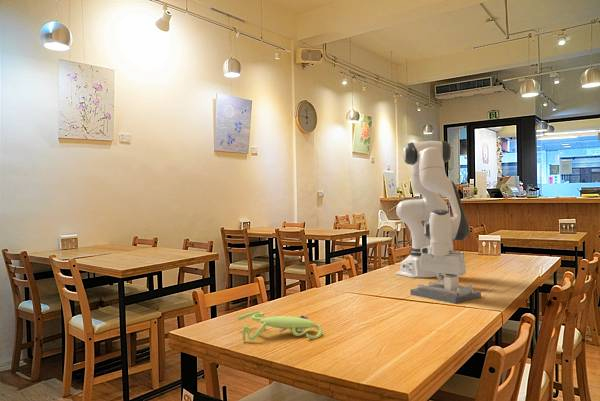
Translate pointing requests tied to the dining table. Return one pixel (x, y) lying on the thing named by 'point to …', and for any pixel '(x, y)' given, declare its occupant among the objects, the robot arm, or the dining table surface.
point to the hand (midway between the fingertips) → (442, 283)
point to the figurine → (281, 324)
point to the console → (446, 293)
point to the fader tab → (451, 282)
